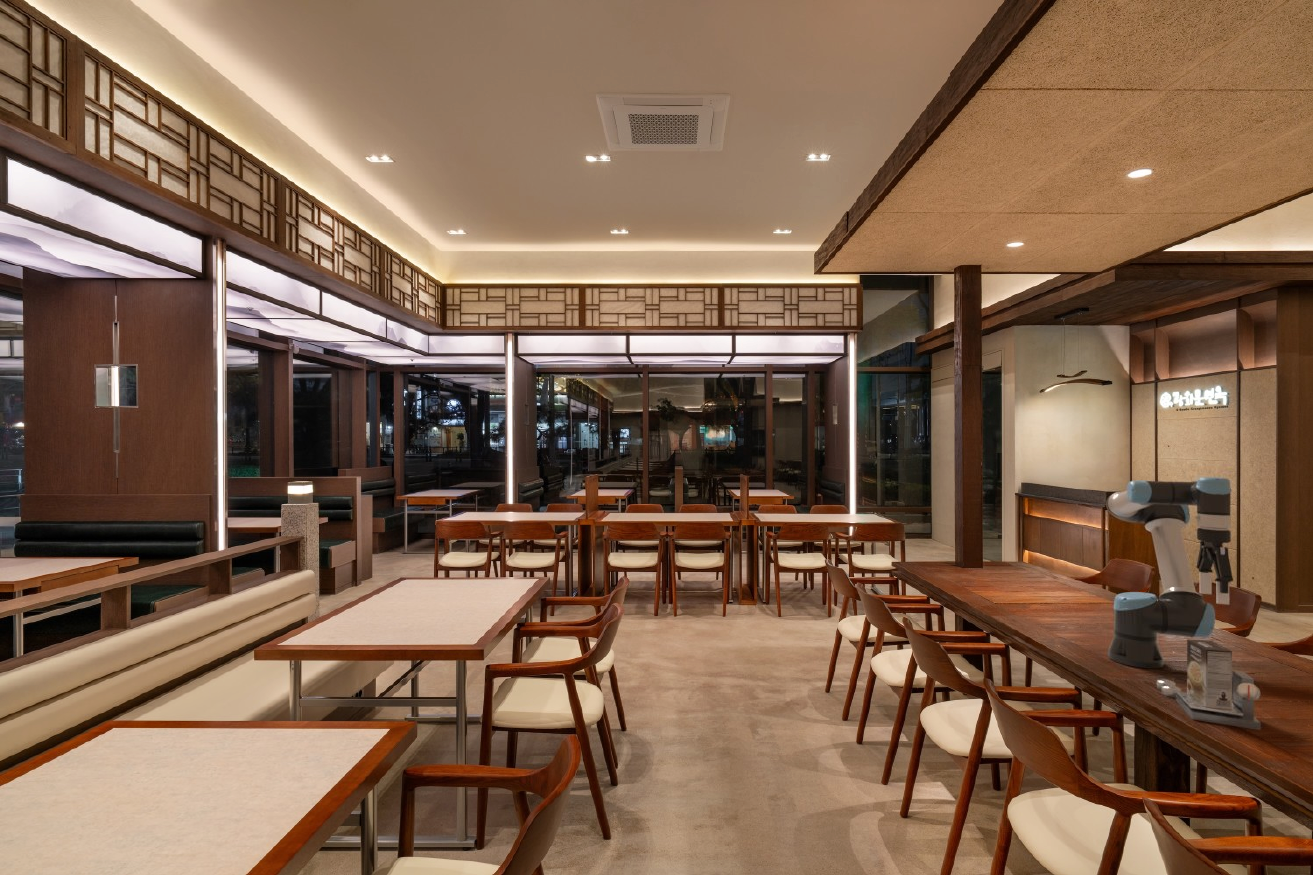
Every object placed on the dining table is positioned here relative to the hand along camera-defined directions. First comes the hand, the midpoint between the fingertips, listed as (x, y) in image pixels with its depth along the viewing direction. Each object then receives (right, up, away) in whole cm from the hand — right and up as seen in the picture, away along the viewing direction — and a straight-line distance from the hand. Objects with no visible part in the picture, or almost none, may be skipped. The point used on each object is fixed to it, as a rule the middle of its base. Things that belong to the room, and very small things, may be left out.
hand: (1213, 598), depth 183 cm
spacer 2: (-14, -29, -1) cm, 32 cm away
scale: (-13, -29, -14) cm, 34 cm away
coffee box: (-14, -26, -14) cm, 32 cm away
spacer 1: (-12, -29, +3) cm, 31 cm away
